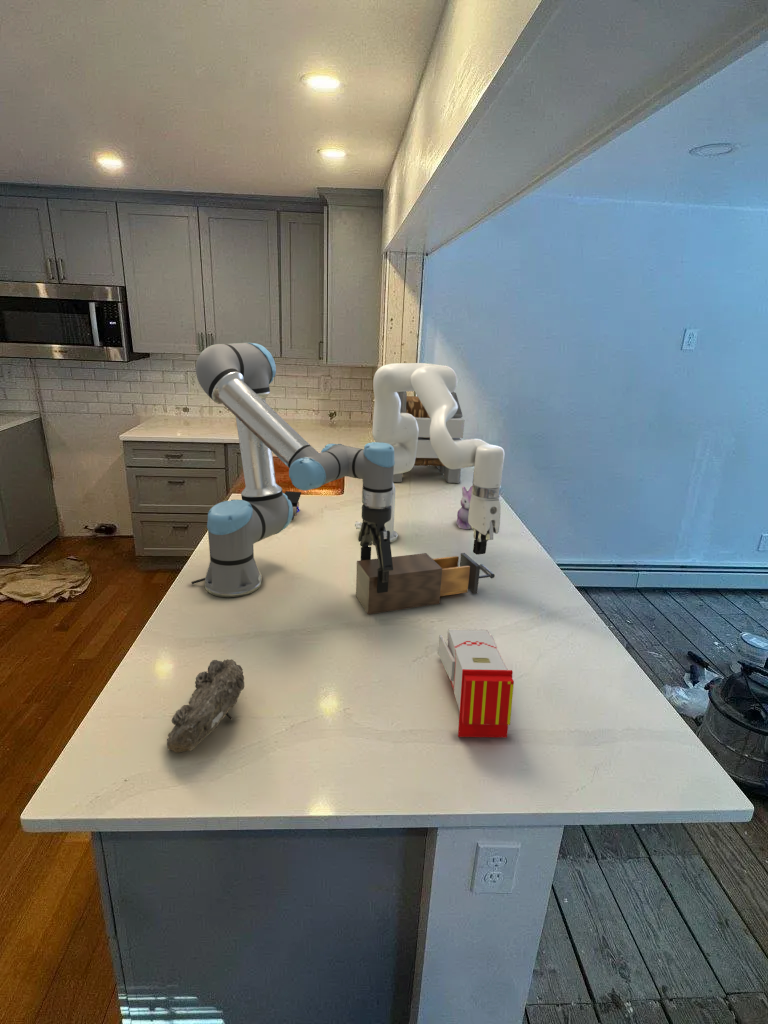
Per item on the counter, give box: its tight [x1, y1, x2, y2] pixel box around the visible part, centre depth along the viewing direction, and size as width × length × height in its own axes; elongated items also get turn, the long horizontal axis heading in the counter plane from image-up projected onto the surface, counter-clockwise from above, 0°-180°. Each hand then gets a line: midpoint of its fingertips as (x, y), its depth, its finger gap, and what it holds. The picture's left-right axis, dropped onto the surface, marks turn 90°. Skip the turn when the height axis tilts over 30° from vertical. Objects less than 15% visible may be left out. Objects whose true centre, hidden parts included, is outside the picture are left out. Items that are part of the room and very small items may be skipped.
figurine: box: [455, 485, 472, 530], centre depth 208 cm, size 9×10×15 cm
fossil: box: [166, 658, 245, 754], centre depth 106 cm, size 22×10×15 cm
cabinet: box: [355, 552, 442, 615], centre depth 153 cm, size 20×10×10 cm, turn 110°
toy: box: [437, 628, 515, 738], centre depth 117 cm, size 12×13×30 cm
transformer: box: [390, 390, 465, 484], centre depth 268 cm, size 34×33×41 cm
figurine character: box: [284, 490, 302, 521], centre depth 211 cm, size 7×8×15 cm
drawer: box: [432, 552, 496, 597], centre depth 158 cm, size 25×9×9 cm, turn 110°
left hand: (373, 580), depth 150 cm, fingers open, 13 cm apart
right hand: (479, 553), depth 159 cm, fingers closed
